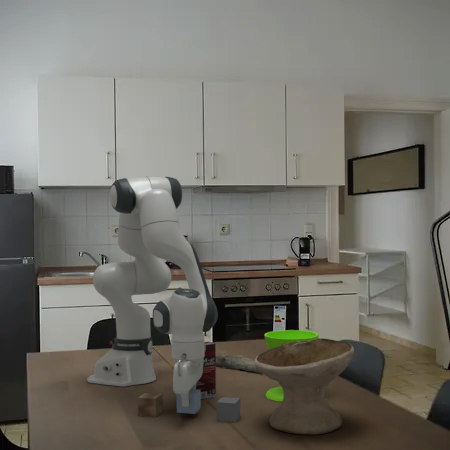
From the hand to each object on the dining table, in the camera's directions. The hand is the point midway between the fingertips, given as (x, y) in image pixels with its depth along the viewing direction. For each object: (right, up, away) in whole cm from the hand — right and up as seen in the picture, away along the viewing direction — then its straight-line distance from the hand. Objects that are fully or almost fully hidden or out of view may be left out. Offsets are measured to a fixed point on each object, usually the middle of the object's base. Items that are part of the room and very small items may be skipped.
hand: (188, 402), depth 178 cm
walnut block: (-11, -4, +3) cm, 11 cm away
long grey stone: (+17, -4, +57) cm, 59 cm away
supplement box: (+2, -4, +19) cm, 19 cm away
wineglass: (+30, -3, +19) cm, 36 cm away
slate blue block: (0, -2, 0) cm, 2 cm away
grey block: (+11, -4, -3) cm, 12 cm away
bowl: (+30, -3, -9) cm, 31 cm away
